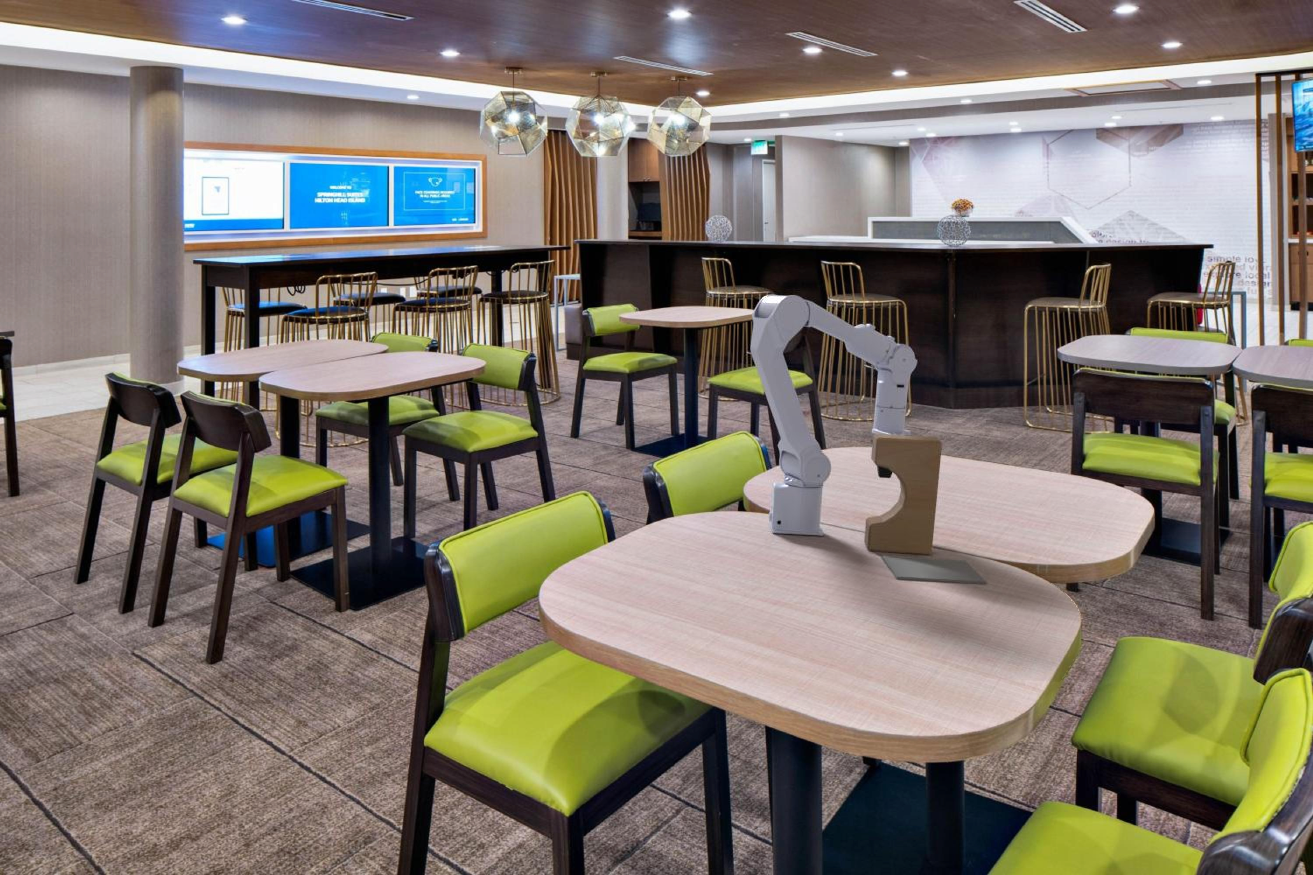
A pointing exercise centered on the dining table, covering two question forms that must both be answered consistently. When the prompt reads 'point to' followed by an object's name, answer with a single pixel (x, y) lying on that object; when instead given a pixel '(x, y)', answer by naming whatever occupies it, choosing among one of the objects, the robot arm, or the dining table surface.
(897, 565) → the grey flat plate
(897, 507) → the decorative block
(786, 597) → the dining table surface
